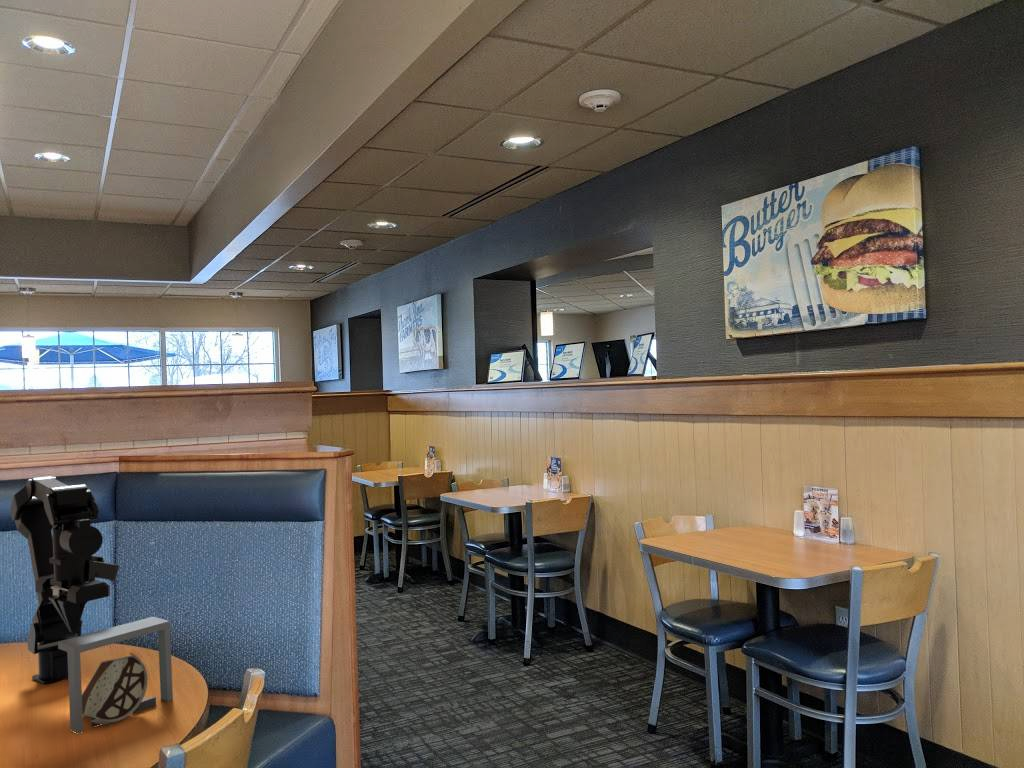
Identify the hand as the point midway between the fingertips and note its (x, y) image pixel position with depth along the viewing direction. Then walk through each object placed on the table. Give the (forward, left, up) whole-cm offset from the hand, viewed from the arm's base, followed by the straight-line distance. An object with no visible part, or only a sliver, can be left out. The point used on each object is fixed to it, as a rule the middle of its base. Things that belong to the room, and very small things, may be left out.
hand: (73, 631), depth 151 cm
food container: (+12, -1, -9) cm, 15 cm away
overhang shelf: (+17, 0, -12) cm, 21 cm away
